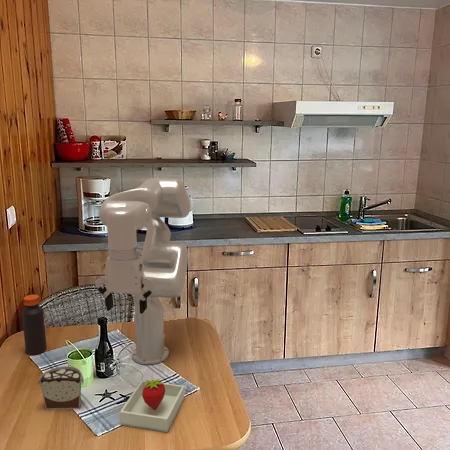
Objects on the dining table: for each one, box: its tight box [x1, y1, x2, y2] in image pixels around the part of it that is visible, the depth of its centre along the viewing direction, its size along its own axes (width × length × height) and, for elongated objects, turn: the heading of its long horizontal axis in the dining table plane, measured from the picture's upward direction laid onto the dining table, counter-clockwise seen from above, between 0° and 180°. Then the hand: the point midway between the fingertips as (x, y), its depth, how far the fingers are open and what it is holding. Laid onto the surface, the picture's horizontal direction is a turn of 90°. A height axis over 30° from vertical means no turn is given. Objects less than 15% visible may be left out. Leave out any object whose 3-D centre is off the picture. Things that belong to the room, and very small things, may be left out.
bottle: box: [21, 294, 48, 356], centre depth 154 cm, size 7×7×20 cm
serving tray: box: [119, 379, 186, 433], centre depth 125 cm, size 15×13×4 cm
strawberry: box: [142, 375, 165, 410], centre depth 124 cm, size 6×8×10 cm
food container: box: [37, 365, 85, 410], centre depth 127 cm, size 12×6×10 cm, turn 92°
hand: (126, 310), depth 126 cm, fingers open, 9 cm apart
